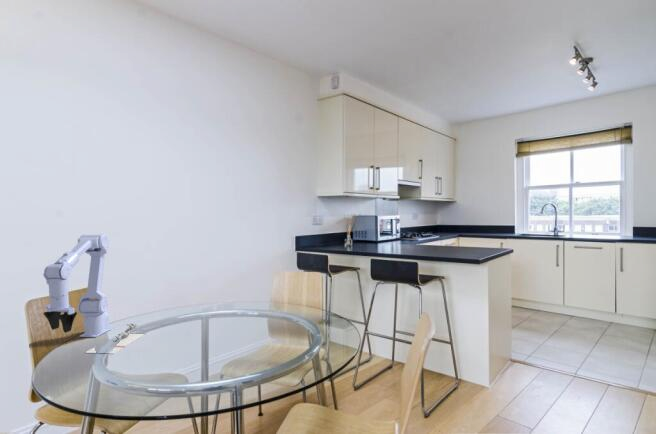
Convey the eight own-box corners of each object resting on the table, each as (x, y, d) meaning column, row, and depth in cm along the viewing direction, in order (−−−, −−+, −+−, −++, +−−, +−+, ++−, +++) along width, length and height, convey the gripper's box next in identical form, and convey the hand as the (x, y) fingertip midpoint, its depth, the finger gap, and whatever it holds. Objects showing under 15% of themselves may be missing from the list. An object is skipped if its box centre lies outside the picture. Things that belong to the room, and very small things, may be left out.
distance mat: (120, 332, 155) (120, 332, 155) (145, 333, 154) (145, 333, 154) (84, 352, 135) (84, 352, 135) (113, 354, 134) (113, 353, 134)
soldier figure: (107, 344, 145) (122, 325, 156) (117, 350, 146) (131, 331, 157) (117, 333, 143) (131, 315, 154) (128, 339, 144) (141, 321, 155)
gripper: (35, 296, 132) (38, 331, 133) (59, 300, 126) (61, 336, 127) (56, 291, 138) (58, 324, 139) (79, 295, 132) (81, 329, 133)
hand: (61, 330), depth 133 cm, fingers open, 7 cm apart
